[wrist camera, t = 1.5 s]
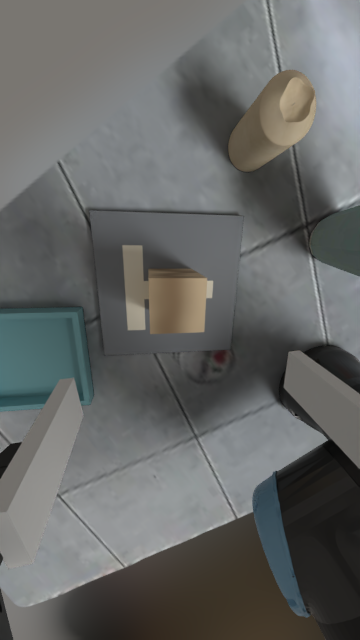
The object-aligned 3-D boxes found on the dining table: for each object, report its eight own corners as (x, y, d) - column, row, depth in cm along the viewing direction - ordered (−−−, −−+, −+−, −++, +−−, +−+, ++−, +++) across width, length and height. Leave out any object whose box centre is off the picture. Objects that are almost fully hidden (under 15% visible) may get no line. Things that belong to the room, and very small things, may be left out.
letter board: (241, 216, 31) (244, 215, 30) (228, 347, 37) (230, 349, 36) (90, 211, 28) (89, 210, 27) (105, 353, 35) (104, 355, 34)
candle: (221, 131, 27) (260, 72, 18) (262, 112, 27) (323, 44, 18) (234, 179, 29) (275, 149, 20) (273, 162, 29) (332, 124, 20)
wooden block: (191, 268, 31) (207, 278, 23) (190, 309, 33) (204, 332, 25) (148, 268, 30) (148, 278, 22) (149, 310, 32) (150, 334, 24)
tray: (82, 307, 32) (77, 312, 29) (94, 394, 37) (90, 404, 34) (-35, 309, 30) (-51, 314, 27) (-6, 401, 35) (-18, 412, 32)
